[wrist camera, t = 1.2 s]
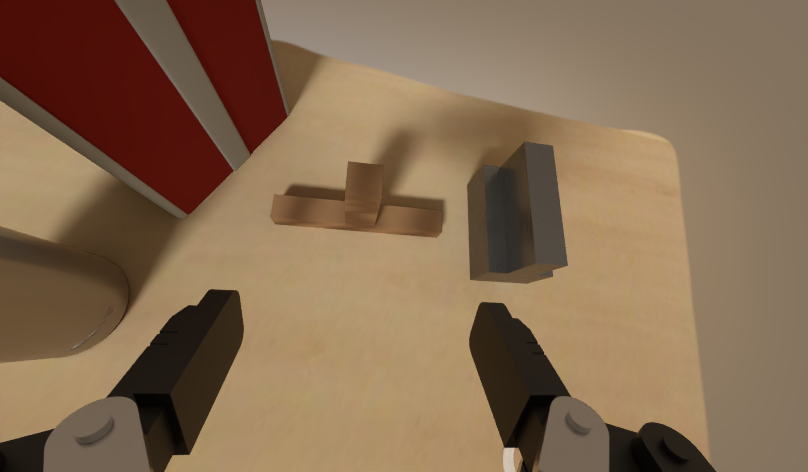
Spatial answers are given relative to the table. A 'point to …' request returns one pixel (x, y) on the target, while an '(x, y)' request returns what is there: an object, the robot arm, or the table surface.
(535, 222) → the gray metal t-shaped block
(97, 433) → the robot arm
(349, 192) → the wooden t-shaped block
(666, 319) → the table surface
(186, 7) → the red-striped tombstone block
